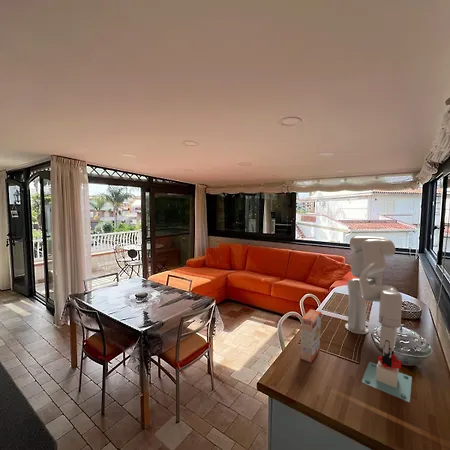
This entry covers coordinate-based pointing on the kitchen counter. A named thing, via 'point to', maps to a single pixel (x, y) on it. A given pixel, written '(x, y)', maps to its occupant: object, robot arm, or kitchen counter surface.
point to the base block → (387, 375)
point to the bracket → (394, 363)
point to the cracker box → (310, 335)
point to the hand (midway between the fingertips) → (387, 361)
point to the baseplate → (402, 385)
